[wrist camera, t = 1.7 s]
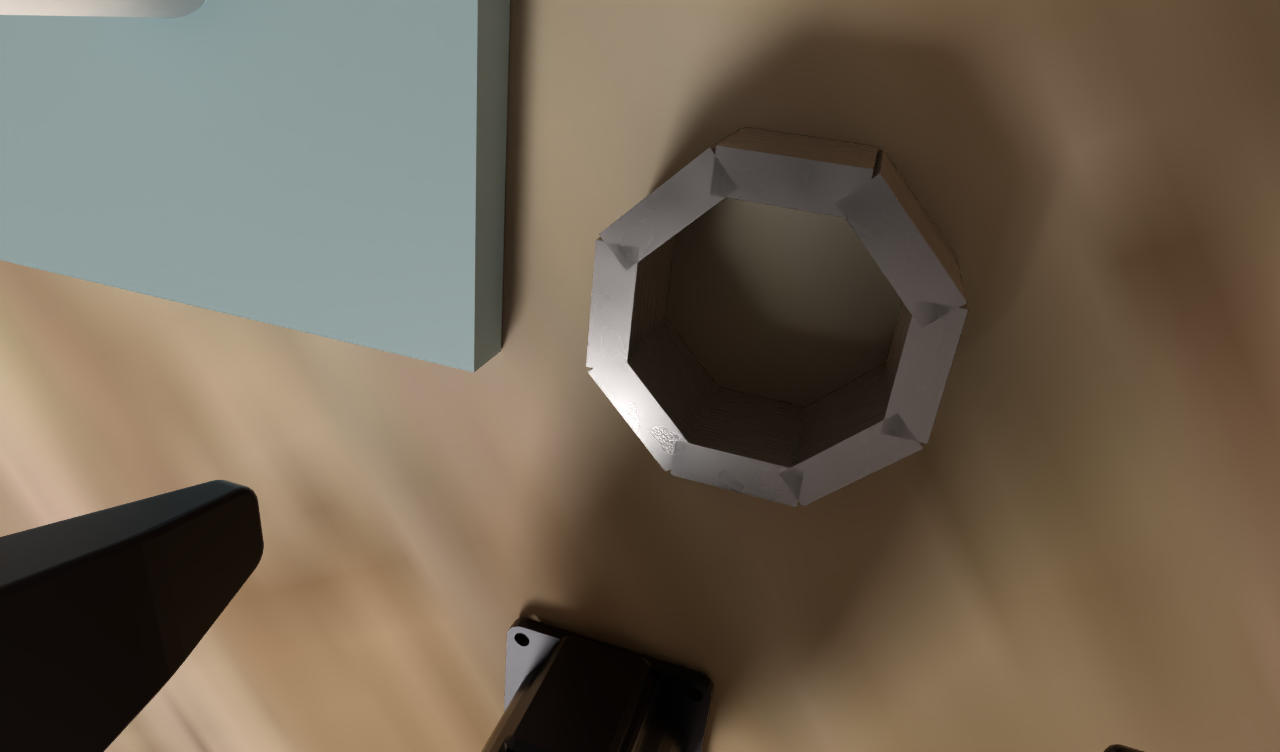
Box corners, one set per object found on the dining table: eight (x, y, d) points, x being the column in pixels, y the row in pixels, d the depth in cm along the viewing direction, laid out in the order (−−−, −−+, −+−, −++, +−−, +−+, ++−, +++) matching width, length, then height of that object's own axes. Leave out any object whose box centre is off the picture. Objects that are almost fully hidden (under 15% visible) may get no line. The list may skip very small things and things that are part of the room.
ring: (901, 463, 19) (900, 533, 16) (621, 397, 20) (579, 451, 18) (987, 163, 16) (1005, 189, 13) (649, 113, 17) (604, 127, 15)
